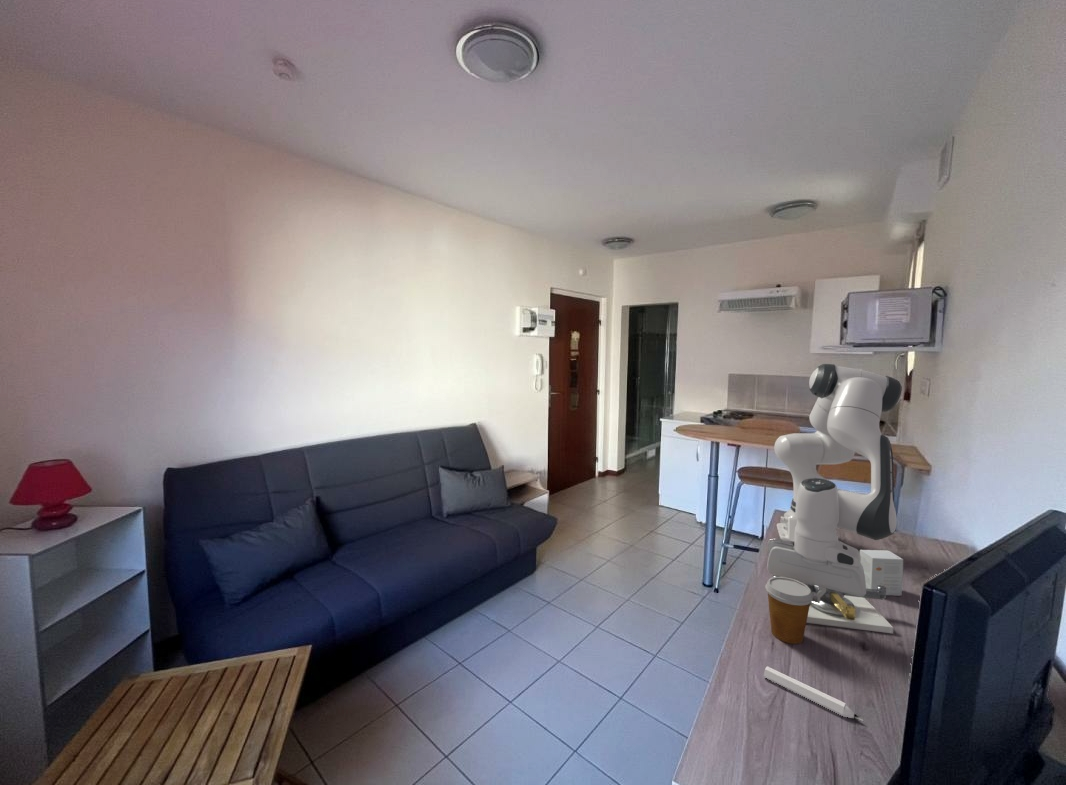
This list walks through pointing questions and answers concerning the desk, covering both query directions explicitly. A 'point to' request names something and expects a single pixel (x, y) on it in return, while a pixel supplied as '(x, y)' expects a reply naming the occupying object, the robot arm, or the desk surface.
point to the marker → (810, 693)
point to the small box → (882, 570)
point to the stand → (863, 620)
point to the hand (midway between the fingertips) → (812, 600)
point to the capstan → (842, 600)
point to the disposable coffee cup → (788, 608)
